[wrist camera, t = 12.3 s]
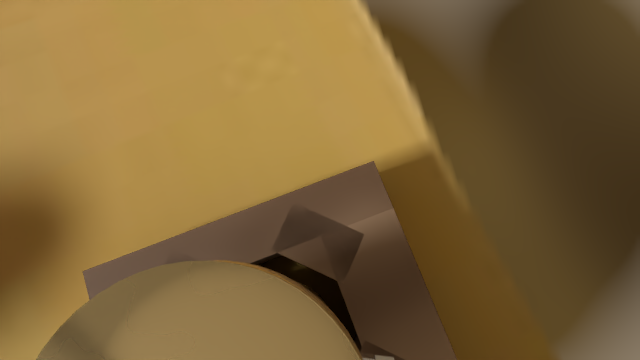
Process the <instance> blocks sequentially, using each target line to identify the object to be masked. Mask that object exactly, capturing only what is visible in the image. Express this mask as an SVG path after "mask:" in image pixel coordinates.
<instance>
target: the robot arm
mask: <svg viewBox="0 0 640 360" xmlns="http://www.w3.org/2000/svg"><path fill="white" fill-rule="evenodd" d="M360 354H361V356H362V358H363V360H395V359H394V357H390V356H381V355H374V354H367V353H360Z"/></svg>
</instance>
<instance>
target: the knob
mask: <svg viewBox="0 0 640 360" xmlns="http://www.w3.org/2000/svg"><path fill="white" fill-rule="evenodd" d="M36 360H363V358H362V356H361V354H360V351H359V349H358V348H357V346H356V344H355V343H354V341H353V339H352V338H351V336H350V334H349V332H348V331H347V329H346V328H345V327H344V326H343V324H342V323H341V322H340V320H339V319H338V318H337V317H336V315H335V314H334V313H333V312H332V311H331V310H330V309H329V308H328V307H327V305H326V303H325V302H324V301H323V299H322V298H321V297H320V296H319V295H318V294H317V293H316V292H315V291H314V290H312V289H311V288H310V287H308V286H306V285H305V284H302V283H300V282H297V281H294V280H292V279H290V278H288V277H286V276H285V275H283V274H280V273H278V272H275V271H273V270H270V269H268V268H265V267H261V266H257V265H253V264H249V263H245V262H236V261H227V260H213V261H184V262H178V263H172V264H166V265H161V266H157V267H154V268H151V269H148V270H144V271H141V272H138V273H136V274H134V275H132V276H129V277H127V278H125V279H123V280H121V281H118V282H117V283H115V284H113V285H112V286H110V287H108V288H107V289H105V290H103V291H102V292H100V293H99V294H97V295H96V296H94V297H93V298H92V299H91V300H89V301H88V302H87V303H85V304H84V305H83V306H82V307H80V308H79V309H78V310H77V311H76V312H75V313H74V314H73V315H72V316H71V317H70V318H69V319H68V320H67V321H66V322H65V323H64V324H63V325H62V326H61V327H60V328H59V329H58V330H57V332H56V333H55V334H54V335H53V337H52V338H51V339H50V340H49V342H48V343H47V344H46V345H45V347H44V348H43V349H42V351H41V353H40V354H39V356H38V357H37V359H36Z"/></svg>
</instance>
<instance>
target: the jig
mask: <svg viewBox="0 0 640 360" xmlns="http://www.w3.org/2000/svg"><path fill="white" fill-rule="evenodd" d="M282 255H283V256H285V257H287V258H289V259H292V260H294V261H296V262H298V263H300V264H302V265H304V266H307V267H309V268H311V269H313V270H315V271H317V272H320V273H322V274H324V275H326V276H328V277H330V278H332V279H335V280H337V282H338V285H339V287H340V290H341V293H342V295H343V298H344V301H345V303H346V306H347V309H348V311H349V314H350V317H351V319H352V322H353V324H354V327H355V330H356V332H357V334H356V337H355V339H354V343H355V344H356V346H357V348H358V349H359V351H360V353H367V354H374V355H381V356H390V357H394V359H395V360H457V358H456V356H455V354H454V351H453V349H452V346H451V344H450V342H449V339H448V337H447V334H446V332H445V330H444V327H443V325H442V323H441V320H440V318H439V315H438V313H437V311H436V308H435V306H434V304H433V301H432V299H431V296H430V294H429V292H428V289H427V287H426V285H425V282H424V280H423V277H422V275H421V273H420V270H419V268H418V265H417V263H416V261H415V258H414V256H413V254H412V251H411V249H410V246H409V244H408V242H407V239H406V237H405V235H404V232H403V230H402V227H401V225H400V223H399V220H398V218H397V215H396V213H395V211H394V208H393V206H392V204H391V201H390V199H389V196H388V194H387V192H386V189H385V187H384V185H383V182H382V180H381V177H380V175H379V173H378V170H377V168H376V166H375V163H374V161H372V162H369V163H367V164H364V165H362V166H359V167H356V168H354V169H351V170H348V171H346V172H343V173H340V174H338V175H335V176H333V177H330V178H327V179H325V180H322V181H319V182H317V183H314V184H312V185H309V186H306V187H304V188H301V189H298V190H296V191H293V192H290V193H288V194H285V195H283V196H280V197H277V198H275V199H272V200H269V201H267V202H264V203H261V204H259V205H256V206H254V207H251V208H248V209H246V210H243V211H240V212H238V213H235V214H233V215H230V216H227V217H225V218H222V219H219V220H217V221H214V222H211V223H209V224H206V225H204V226H201V227H198V228H196V229H193V230H190V231H188V232H185V233H182V234H180V235H177V236H175V237H172V238H169V239H167V240H164V241H161V242H159V243H156V244H154V245H151V246H148V247H146V248H143V249H140V250H138V251H135V252H132V253H130V254H127V255H125V256H122V257H119V258H117V259H114V260H111V261H109V262H106V263H103V264H101V265H98V266H96V267H93V268H90V269H88V270H85V271H83V275H84V279H85V283H86V287H87V291H88V295H89V299H90V300H91V299H92V298H93V297H94V296H96V295H97V294H99V293H100V292H102V291H103V290H105V289H107V288H108V287H110V286H112V285H113V284H115V283H117V282H118V281H121V280H123V279H125V278H127V277H129V276H132V275H134V274H136V273H138V272H141V271H144V270H148V269H151V268H154V267H157V266H161V265H166V264H172V263H178V262H184V261H213V260H227V261H236V262H245V263H249V264H253V265H258V264H261V263H264V262H266V261H269V260H271V259H274V258H277V257H279V256H282Z"/></svg>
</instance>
